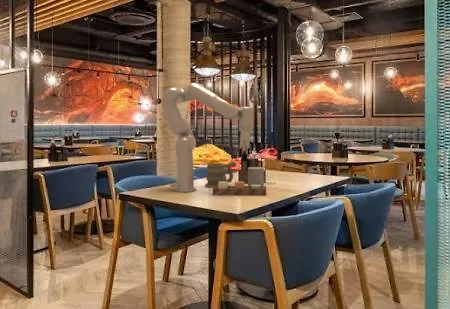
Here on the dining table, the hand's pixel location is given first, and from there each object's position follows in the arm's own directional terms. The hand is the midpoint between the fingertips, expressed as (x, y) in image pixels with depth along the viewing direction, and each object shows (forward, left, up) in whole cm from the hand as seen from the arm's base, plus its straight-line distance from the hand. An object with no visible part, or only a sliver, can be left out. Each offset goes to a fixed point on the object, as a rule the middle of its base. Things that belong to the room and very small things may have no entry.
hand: (244, 161), depth 233 cm
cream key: (-12, -8, -15) cm, 21 cm away
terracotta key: (-3, -8, -15) cm, 17 cm away
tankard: (-15, +18, -18) cm, 29 cm away
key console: (-3, -8, -17) cm, 19 cm away
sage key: (+6, -8, -17) cm, 20 cm away
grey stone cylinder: (+6, +10, -18) cm, 22 cm away
